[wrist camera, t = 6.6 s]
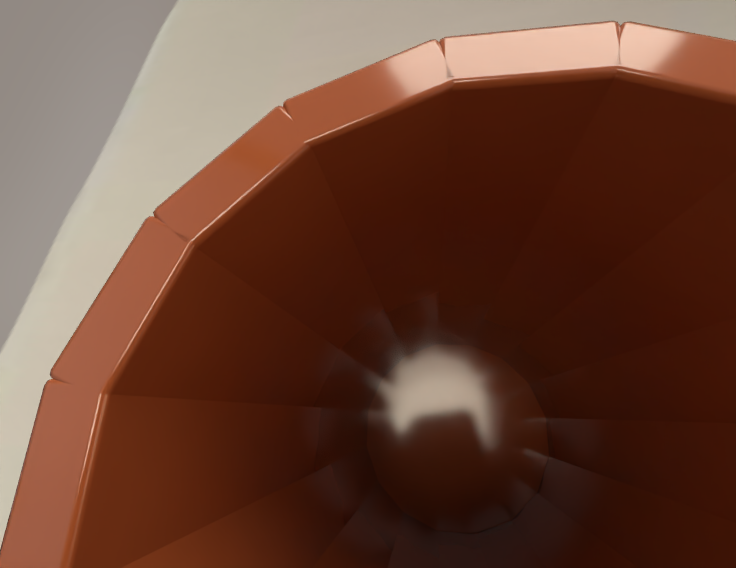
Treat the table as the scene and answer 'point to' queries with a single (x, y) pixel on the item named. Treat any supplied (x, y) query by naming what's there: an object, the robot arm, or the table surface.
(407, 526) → the pot
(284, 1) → the table surface
